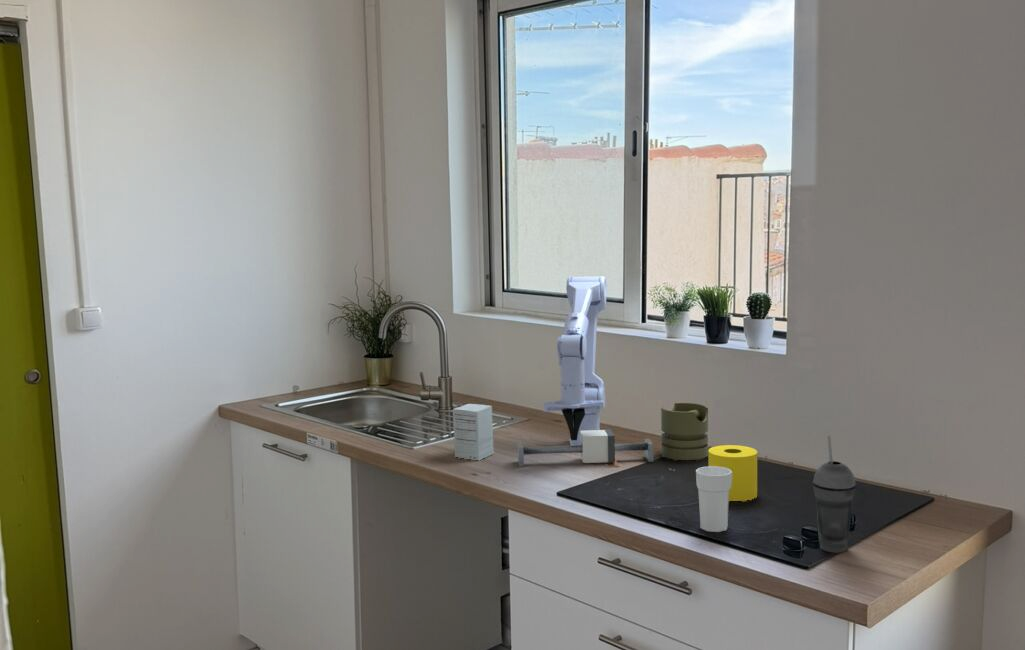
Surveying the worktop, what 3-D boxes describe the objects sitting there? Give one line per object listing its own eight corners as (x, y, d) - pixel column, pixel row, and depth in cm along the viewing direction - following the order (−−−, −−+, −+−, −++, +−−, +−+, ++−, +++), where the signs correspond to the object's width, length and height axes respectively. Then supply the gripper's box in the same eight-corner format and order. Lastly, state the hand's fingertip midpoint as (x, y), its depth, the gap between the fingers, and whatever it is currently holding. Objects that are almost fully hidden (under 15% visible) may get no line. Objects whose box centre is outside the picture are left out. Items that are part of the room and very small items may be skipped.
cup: (692, 522, 180) (691, 467, 179) (725, 520, 180) (725, 465, 179) (701, 534, 173) (701, 476, 172) (736, 532, 174) (736, 474, 173)
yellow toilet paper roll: (707, 487, 203) (707, 444, 202) (755, 488, 201) (755, 445, 200) (709, 501, 193) (709, 456, 192) (759, 502, 191) (759, 457, 190)
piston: (717, 406, 228) (690, 414, 220) (717, 454, 230) (691, 463, 222) (678, 400, 236) (651, 408, 228) (678, 447, 238) (652, 455, 230)
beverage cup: (838, 558, 160) (840, 444, 157) (803, 547, 165) (804, 437, 163) (863, 548, 164) (865, 437, 161) (828, 537, 170) (829, 430, 167)
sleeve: (583, 463, 223) (582, 436, 222) (580, 456, 229) (580, 430, 228) (608, 462, 223) (607, 435, 222) (604, 455, 229) (604, 429, 228)
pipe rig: (519, 470, 220) (518, 451, 219) (517, 458, 231) (517, 440, 230) (655, 465, 221) (655, 446, 220) (647, 453, 232) (647, 435, 231)
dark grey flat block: (608, 462, 223) (608, 436, 222) (604, 455, 229) (604, 429, 229) (615, 462, 223) (614, 435, 222) (611, 455, 229) (610, 429, 229)
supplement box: (470, 451, 239) (468, 402, 238) (494, 454, 235) (493, 405, 234) (453, 458, 233) (452, 408, 231) (478, 461, 229) (476, 411, 228)
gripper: (543, 388, 219) (545, 444, 221) (605, 386, 220) (605, 442, 221) (541, 382, 226) (542, 437, 228) (601, 380, 227) (601, 435, 228)
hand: (573, 439), depth 225 cm, fingers closed
